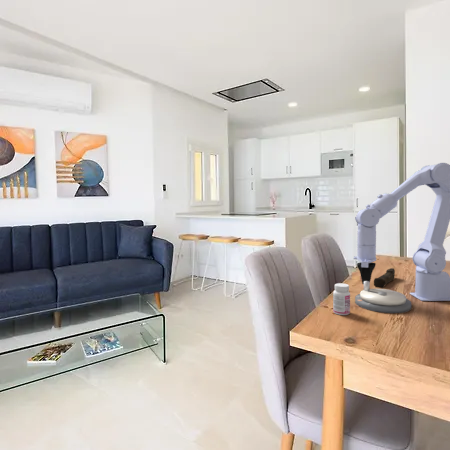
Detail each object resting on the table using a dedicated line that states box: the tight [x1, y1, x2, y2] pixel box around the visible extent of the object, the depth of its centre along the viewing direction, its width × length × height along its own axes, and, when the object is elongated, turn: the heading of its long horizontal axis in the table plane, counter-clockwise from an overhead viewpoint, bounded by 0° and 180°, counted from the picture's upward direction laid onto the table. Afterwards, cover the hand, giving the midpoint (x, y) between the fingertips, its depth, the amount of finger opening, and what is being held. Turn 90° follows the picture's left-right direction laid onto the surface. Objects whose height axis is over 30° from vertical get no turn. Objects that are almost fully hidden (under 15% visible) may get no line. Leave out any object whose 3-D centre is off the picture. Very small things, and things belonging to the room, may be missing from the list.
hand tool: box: [373, 267, 396, 289], centre depth 127 cm, size 19×4×5 cm, turn 135°
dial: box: [359, 281, 407, 306], centre depth 102 cm, size 13×13×4 cm
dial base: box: [354, 293, 412, 314], centre depth 102 cm, size 16×16×2 cm
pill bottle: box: [332, 282, 351, 316], centre depth 95 cm, size 5×5×8 cm
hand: (366, 284), depth 110 cm, fingers closed
